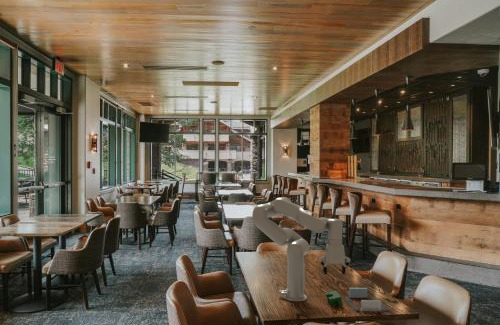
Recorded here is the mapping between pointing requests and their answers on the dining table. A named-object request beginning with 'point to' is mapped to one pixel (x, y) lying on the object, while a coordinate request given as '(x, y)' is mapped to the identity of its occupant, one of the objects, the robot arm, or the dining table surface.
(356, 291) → the block
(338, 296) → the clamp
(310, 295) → the dining table surface
